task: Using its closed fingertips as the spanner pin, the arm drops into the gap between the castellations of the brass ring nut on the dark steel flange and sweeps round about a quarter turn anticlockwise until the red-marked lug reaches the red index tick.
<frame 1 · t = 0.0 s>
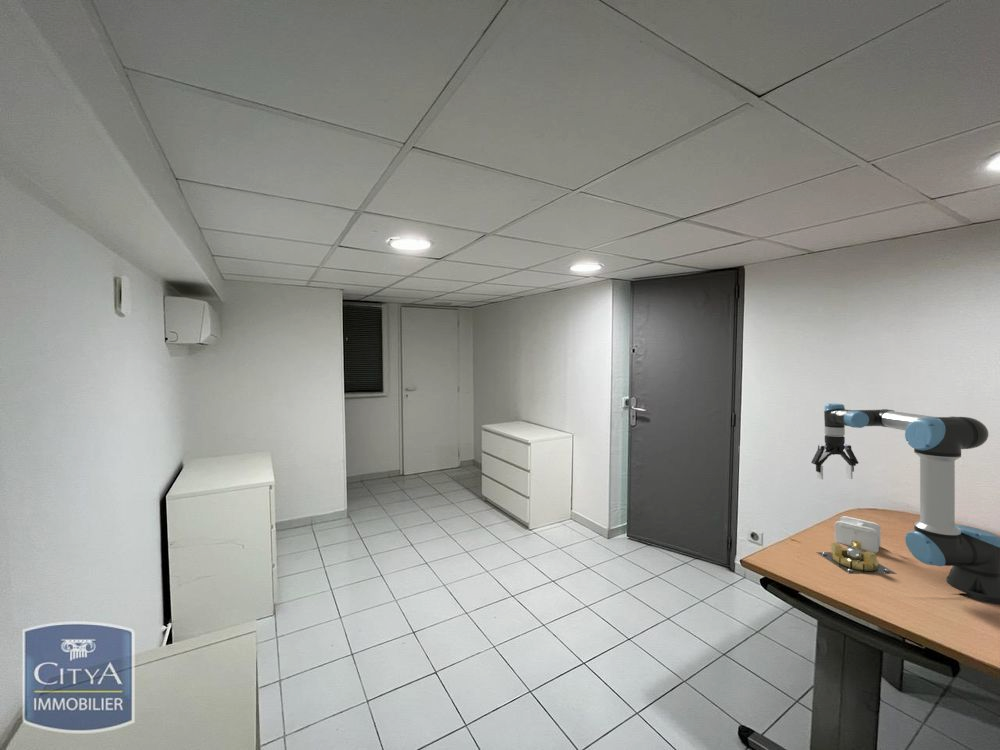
hand: (834, 478, 196), 28 cm above the table, fingers open, 13 cm apart
flange: (854, 565, 167), on the table
cable organizer: (858, 547, 183), on the table
ring nut: (854, 553, 167), point 5 cm above the table, hinge at 0.0°
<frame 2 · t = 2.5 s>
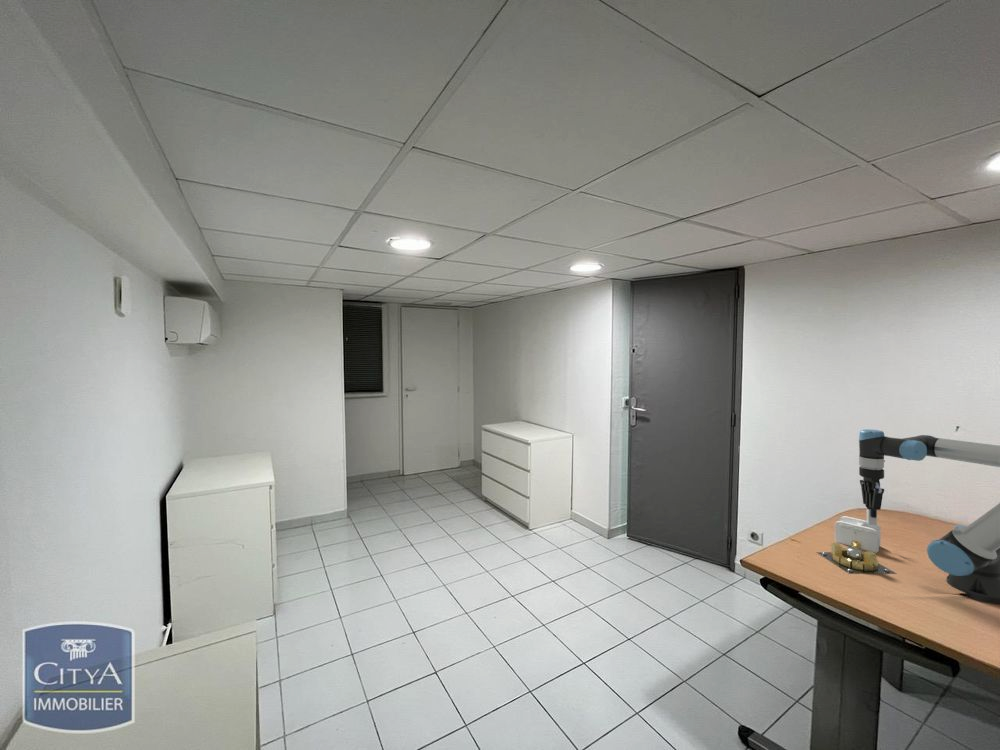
hand: (871, 524, 165), 18 cm above the table, fingers closed
nothing on the table moved.
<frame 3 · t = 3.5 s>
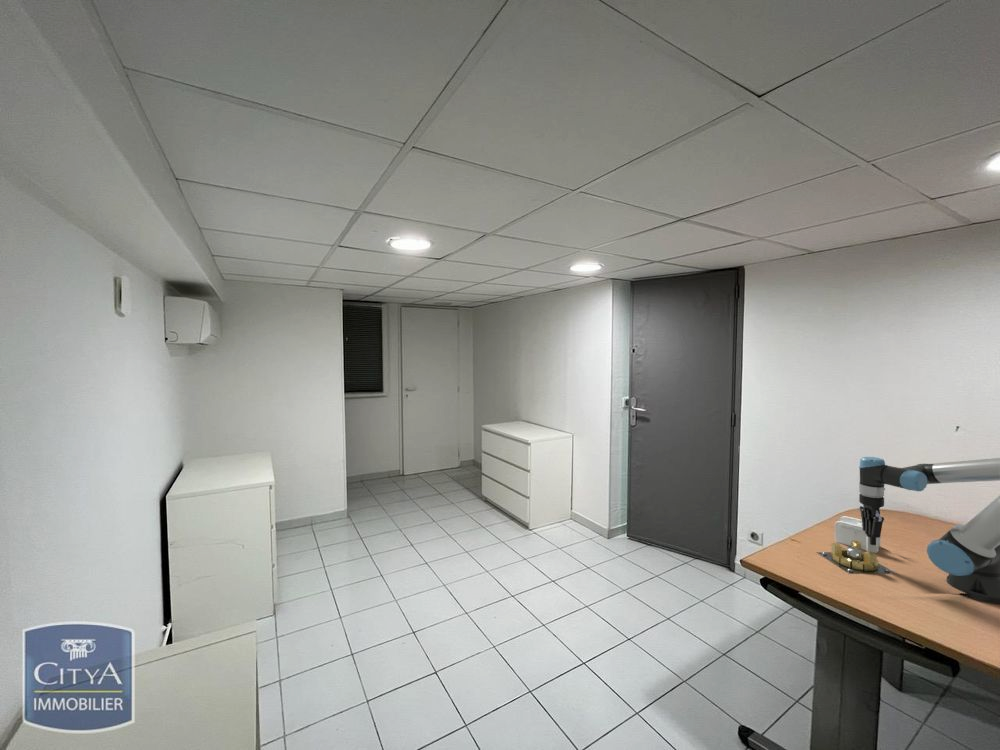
hand: (871, 551, 166), 7 cm above the table, fingers closed
nothing on the table moved.
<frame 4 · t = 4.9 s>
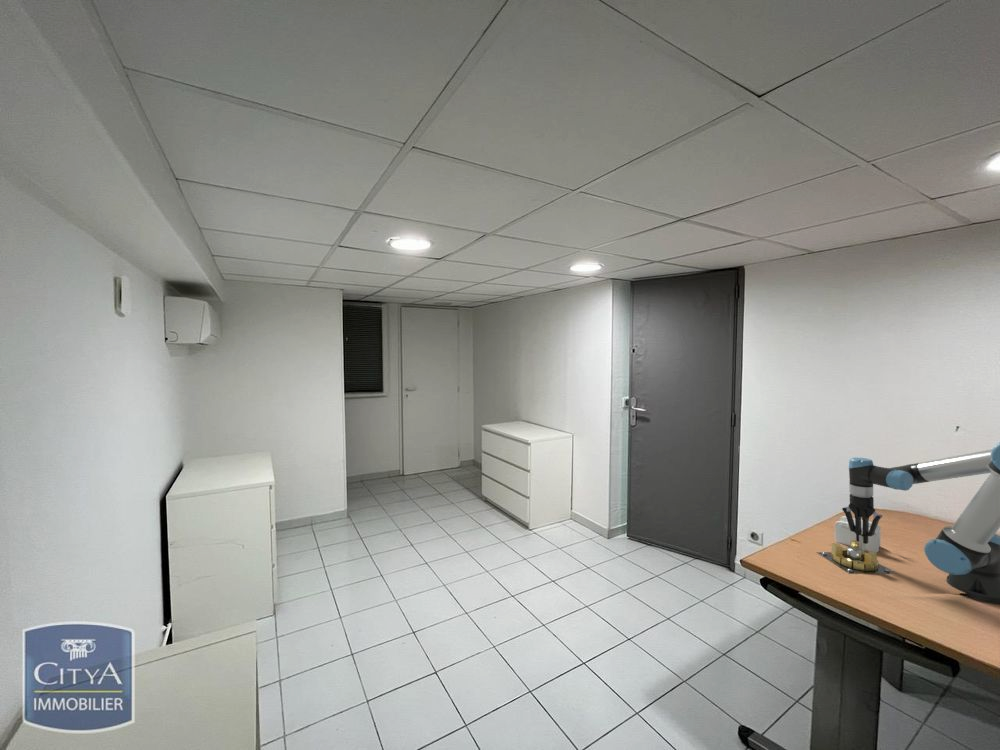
hand: (862, 550, 169), 5 cm above the table, fingers closed
ring nut: (854, 553, 167), point 5 cm above the table, hinge at 3.0°, touching gripper
everything else where it was.
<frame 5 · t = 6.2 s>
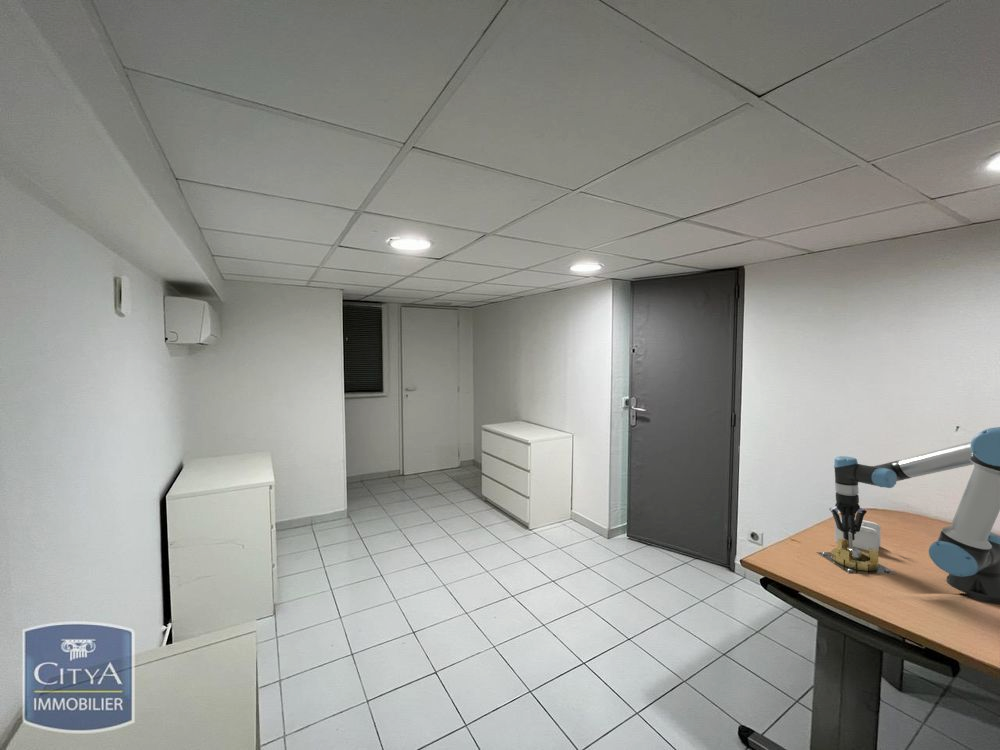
hand: (849, 547, 173), 5 cm above the table, fingers closed
ring nut: (854, 553, 167), point 5 cm above the table, hinge at 43.0°, touching gripper
everything else where it was.
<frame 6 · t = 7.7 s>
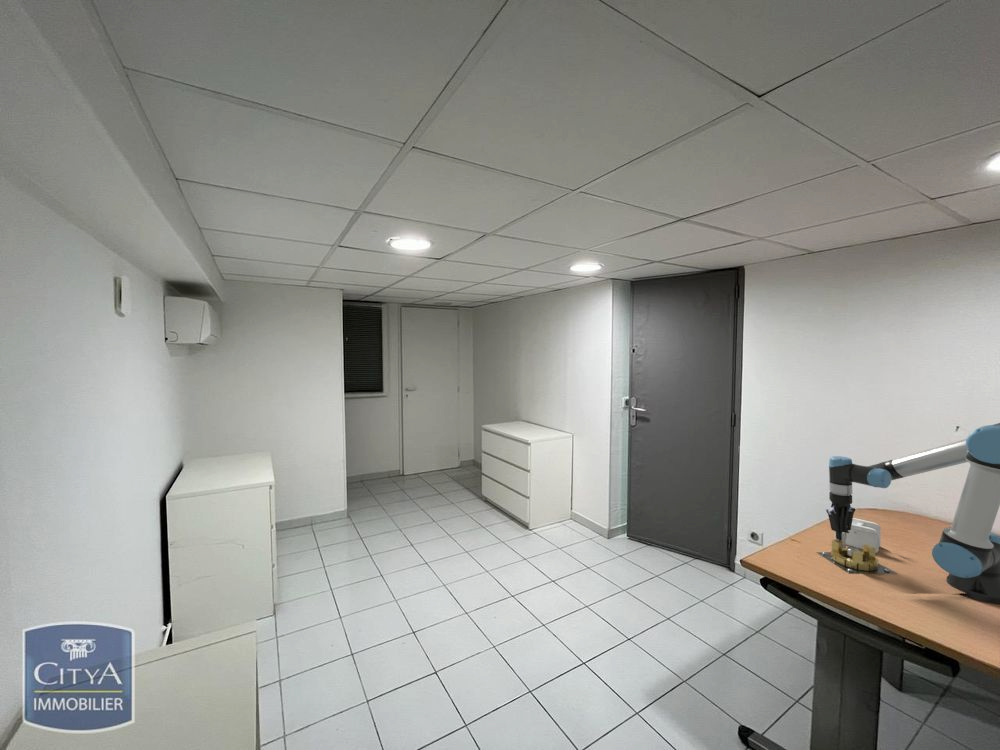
hand: (841, 546, 173), 5 cm above the table, fingers closed
ring nut: (854, 553, 167), point 5 cm above the table, hinge at 75.4°, touching gripper
everything else where it was.
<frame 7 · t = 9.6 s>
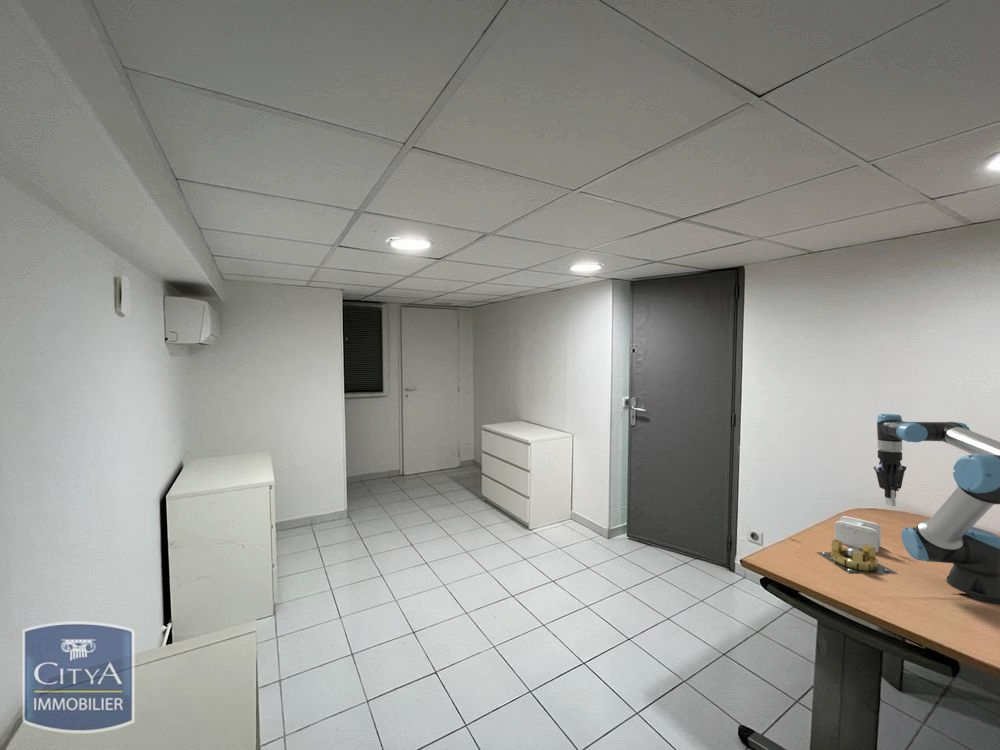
hand: (890, 505, 171), 24 cm above the table, fingers closed
ring nut: (854, 553, 167), point 5 cm above the table, hinge at 75.4°
everything else where it was.
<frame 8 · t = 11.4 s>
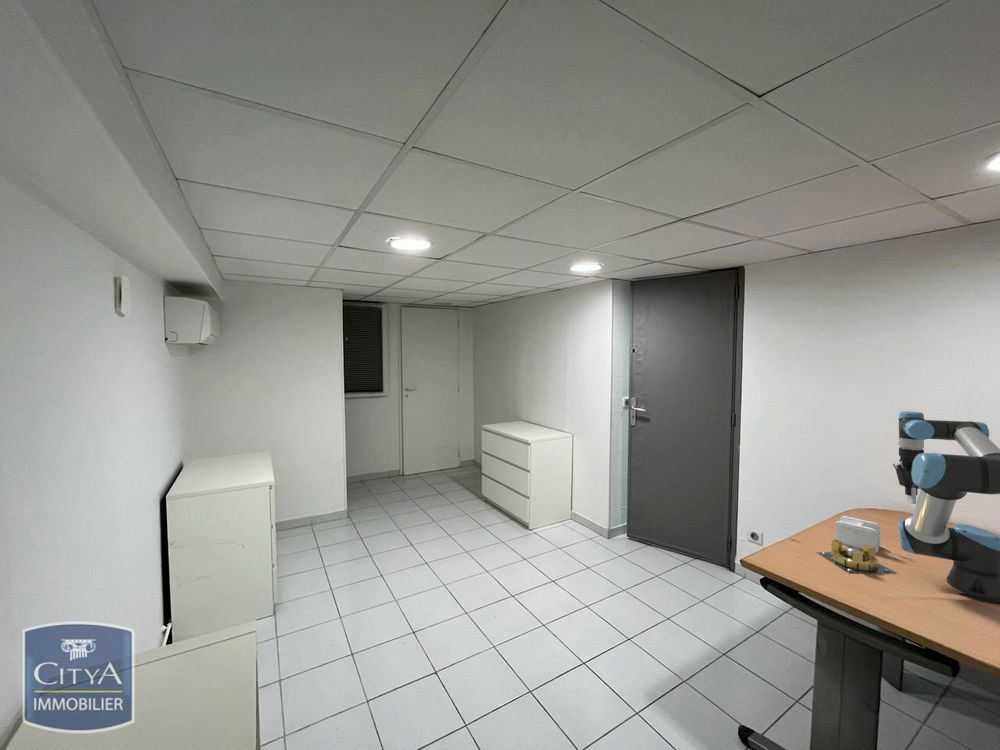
hand: (911, 502, 171), 24 cm above the table, fingers closed
nothing on the table moved.
at the end: ring nut at +75° (first picture: +0°) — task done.
